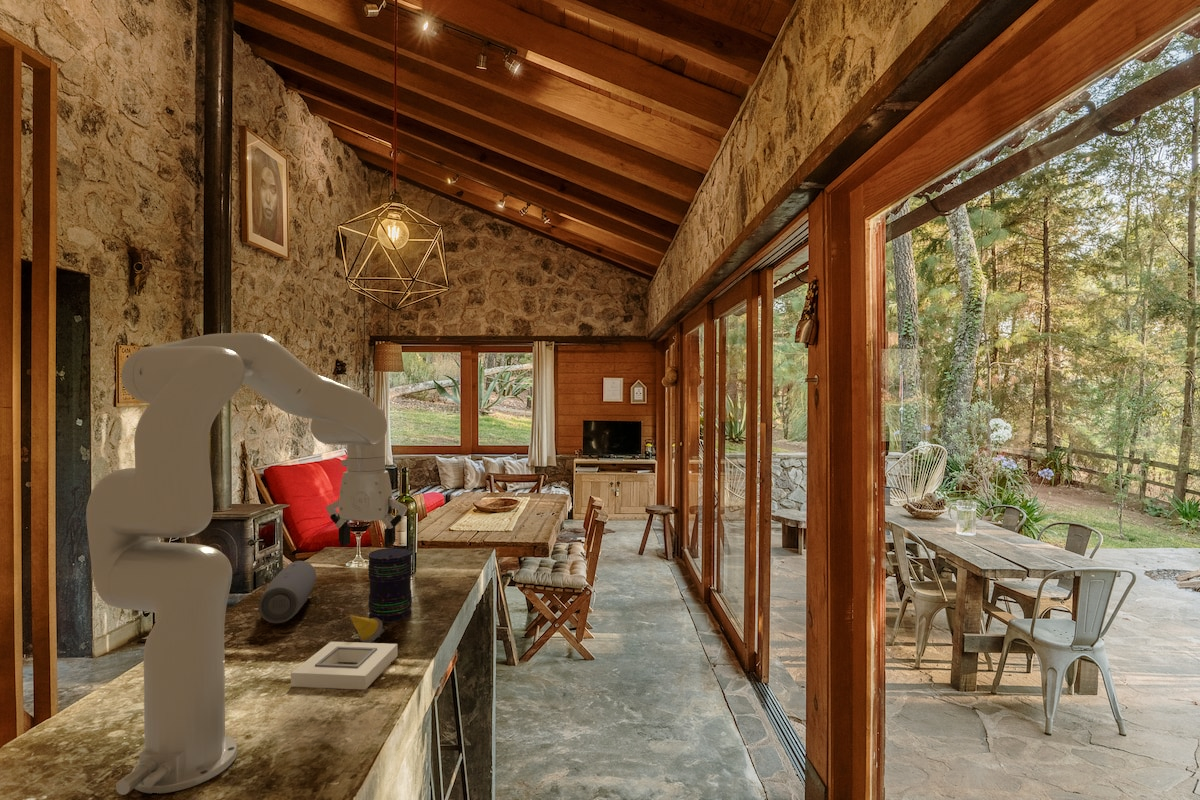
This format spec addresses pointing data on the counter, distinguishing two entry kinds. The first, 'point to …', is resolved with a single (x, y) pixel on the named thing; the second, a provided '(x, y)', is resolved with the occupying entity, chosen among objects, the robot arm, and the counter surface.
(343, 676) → the square frame plate
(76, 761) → the counter surface
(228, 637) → the counter surface
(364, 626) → the yellow ridged cone
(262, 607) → the bluetooth speaker
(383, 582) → the black cylinder
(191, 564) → the robot arm
